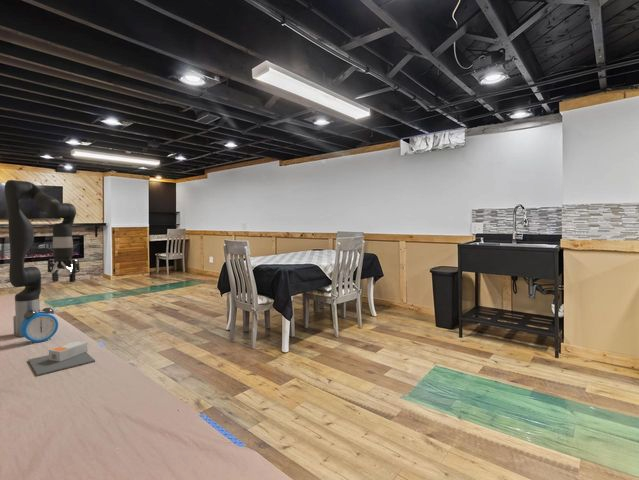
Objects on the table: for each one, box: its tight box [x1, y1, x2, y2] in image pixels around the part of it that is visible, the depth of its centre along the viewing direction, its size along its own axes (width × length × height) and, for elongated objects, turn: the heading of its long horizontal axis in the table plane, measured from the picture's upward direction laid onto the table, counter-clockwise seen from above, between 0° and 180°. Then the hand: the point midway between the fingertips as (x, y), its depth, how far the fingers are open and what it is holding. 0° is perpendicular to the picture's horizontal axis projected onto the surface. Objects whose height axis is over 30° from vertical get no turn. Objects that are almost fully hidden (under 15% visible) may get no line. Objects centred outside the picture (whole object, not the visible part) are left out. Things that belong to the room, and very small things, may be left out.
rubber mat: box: [28, 351, 96, 377], centre depth 138 cm, size 20×18×1 cm
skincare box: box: [48, 340, 89, 362], centre depth 142 cm, size 6×4×12 cm
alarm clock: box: [20, 307, 59, 344], centre depth 162 cm, size 13×6×15 cm, turn 143°
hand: (63, 281), depth 159 cm, fingers open, 8 cm apart
